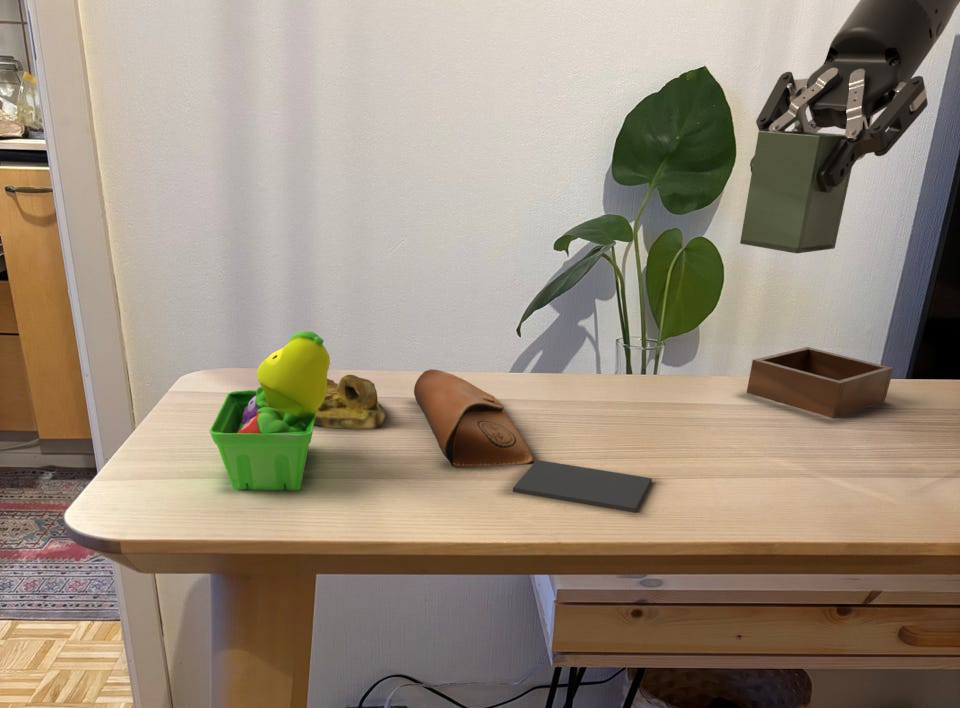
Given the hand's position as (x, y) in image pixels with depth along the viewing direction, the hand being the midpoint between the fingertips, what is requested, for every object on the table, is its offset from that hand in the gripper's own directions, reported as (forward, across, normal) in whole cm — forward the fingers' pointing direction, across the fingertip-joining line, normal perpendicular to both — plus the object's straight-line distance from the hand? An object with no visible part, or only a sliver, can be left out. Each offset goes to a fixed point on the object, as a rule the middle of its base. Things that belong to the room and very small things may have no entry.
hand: (788, 180), depth 82 cm
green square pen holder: (+3, 0, +5) cm, 6 cm away
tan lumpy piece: (+37, -27, -6) cm, 46 cm away
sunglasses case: (+32, -14, -1) cm, 35 cm away
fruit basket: (+46, -15, -15) cm, 50 cm away
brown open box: (+6, -1, +26) cm, 26 cm away
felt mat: (+33, +2, -2) cm, 33 cm away
